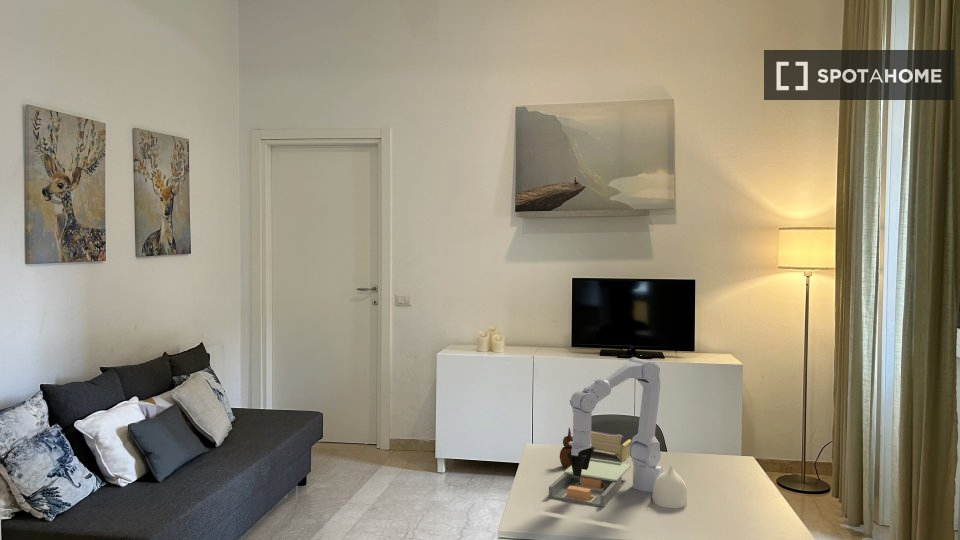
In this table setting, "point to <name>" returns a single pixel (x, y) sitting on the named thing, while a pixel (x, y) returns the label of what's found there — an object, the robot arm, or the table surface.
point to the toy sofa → (611, 444)
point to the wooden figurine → (566, 450)
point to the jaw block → (579, 493)
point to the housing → (599, 490)
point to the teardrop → (670, 490)
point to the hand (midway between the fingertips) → (580, 472)
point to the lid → (603, 470)
